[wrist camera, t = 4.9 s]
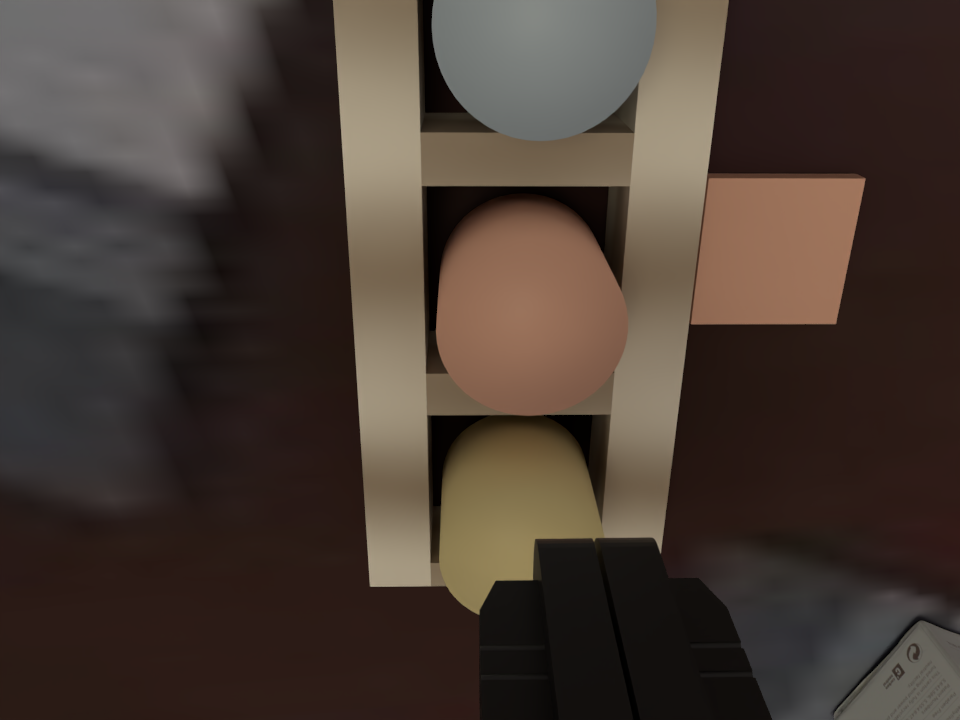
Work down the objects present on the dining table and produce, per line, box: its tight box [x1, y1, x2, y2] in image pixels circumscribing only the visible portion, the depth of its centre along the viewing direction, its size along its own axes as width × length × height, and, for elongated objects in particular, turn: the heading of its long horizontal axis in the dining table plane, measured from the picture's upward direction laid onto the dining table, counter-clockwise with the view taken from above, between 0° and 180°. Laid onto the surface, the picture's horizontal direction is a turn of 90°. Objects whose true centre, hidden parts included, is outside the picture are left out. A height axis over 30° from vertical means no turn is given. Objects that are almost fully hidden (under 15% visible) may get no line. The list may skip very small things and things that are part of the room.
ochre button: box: [439, 415, 605, 615], centre depth 24 cm, size 4×4×4 cm
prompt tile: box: [689, 173, 865, 324], centre depth 24 cm, size 4×4×1 cm
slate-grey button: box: [432, 0, 657, 141], centre depth 18 cm, size 4×4×4 cm
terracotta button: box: [436, 193, 628, 416], centre depth 21 cm, size 4×4×4 cm
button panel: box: [333, 0, 729, 587], centre depth 23 cm, size 20×9×3 cm, turn 0°
